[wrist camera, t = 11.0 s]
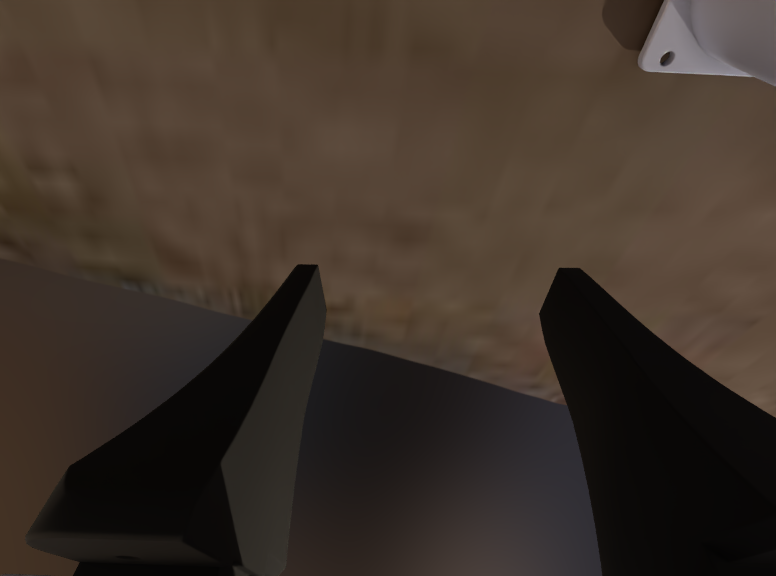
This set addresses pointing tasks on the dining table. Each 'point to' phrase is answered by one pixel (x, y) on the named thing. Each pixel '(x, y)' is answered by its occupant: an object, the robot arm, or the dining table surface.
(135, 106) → the dining table surface
